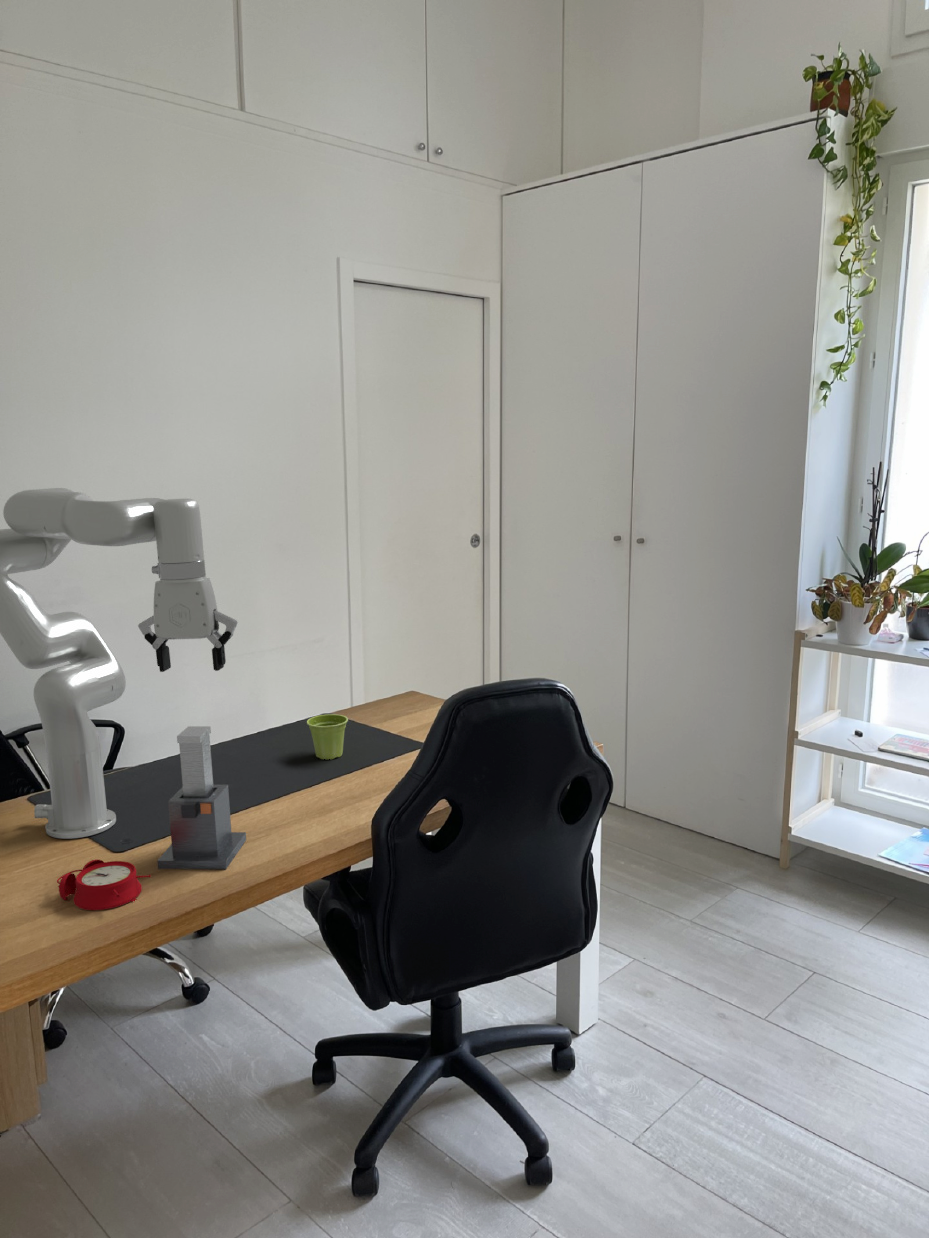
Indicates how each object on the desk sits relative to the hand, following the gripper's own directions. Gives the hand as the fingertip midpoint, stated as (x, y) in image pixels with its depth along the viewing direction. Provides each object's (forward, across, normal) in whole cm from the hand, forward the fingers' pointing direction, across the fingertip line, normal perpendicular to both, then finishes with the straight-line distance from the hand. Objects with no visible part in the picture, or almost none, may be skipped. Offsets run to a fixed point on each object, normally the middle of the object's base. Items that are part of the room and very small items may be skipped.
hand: (192, 669), depth 162 cm
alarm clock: (+34, -12, -17) cm, 40 cm away
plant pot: (+33, +9, +52) cm, 62 cm away
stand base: (+33, 0, -2) cm, 33 cm away
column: (+32, 0, -2) cm, 32 cm away
